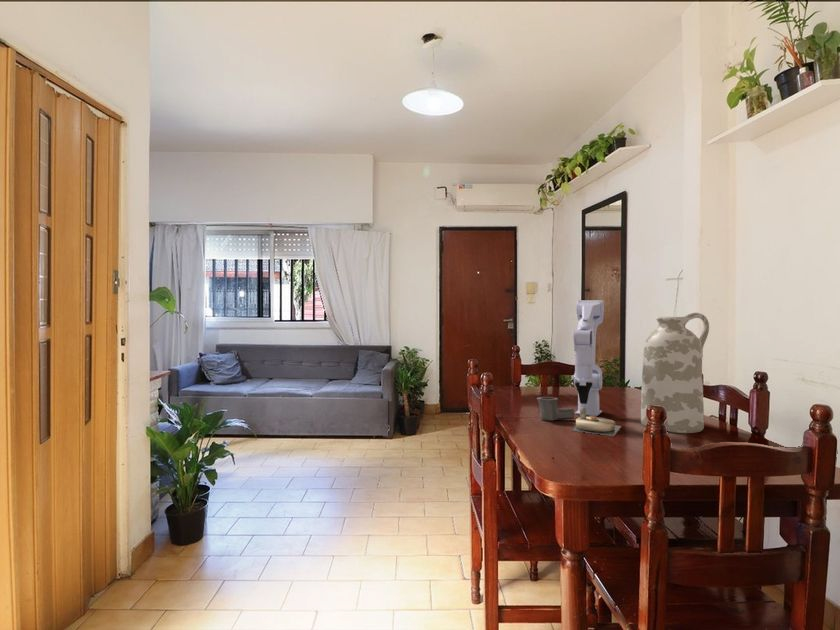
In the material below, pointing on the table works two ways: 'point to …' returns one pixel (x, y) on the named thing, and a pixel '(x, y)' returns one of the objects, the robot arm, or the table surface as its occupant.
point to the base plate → (607, 433)
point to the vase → (675, 373)
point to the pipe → (553, 410)
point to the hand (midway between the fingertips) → (583, 403)
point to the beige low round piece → (594, 422)
